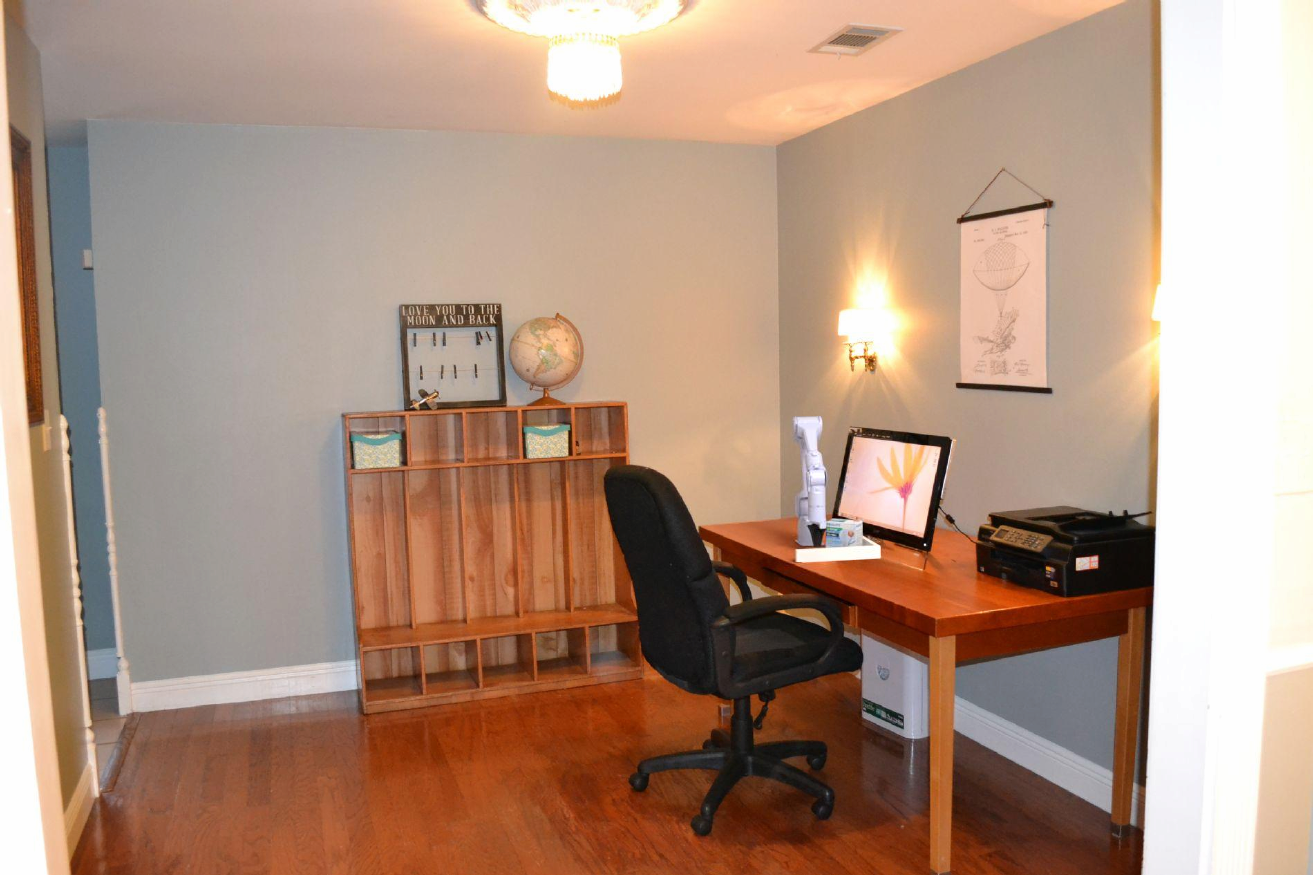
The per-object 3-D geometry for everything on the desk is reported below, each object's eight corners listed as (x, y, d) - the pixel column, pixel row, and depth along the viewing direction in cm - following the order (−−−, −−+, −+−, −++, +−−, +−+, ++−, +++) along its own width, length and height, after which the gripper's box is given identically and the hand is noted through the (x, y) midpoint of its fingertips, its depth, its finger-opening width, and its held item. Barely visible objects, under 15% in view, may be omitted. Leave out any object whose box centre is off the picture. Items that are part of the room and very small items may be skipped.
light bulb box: (825, 553, 332) (824, 521, 331) (832, 549, 337) (832, 518, 336) (856, 556, 326) (856, 523, 325) (863, 552, 332) (863, 520, 331)
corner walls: (781, 550, 339) (781, 538, 338) (861, 546, 342) (861, 534, 342) (796, 562, 320) (796, 550, 319) (880, 558, 323) (880, 545, 322)
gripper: (799, 502, 337) (799, 542, 339) (810, 509, 323) (811, 551, 324) (819, 501, 338) (820, 541, 339) (832, 508, 324) (832, 550, 325)
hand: (817, 546), depth 332 cm, fingers closed
